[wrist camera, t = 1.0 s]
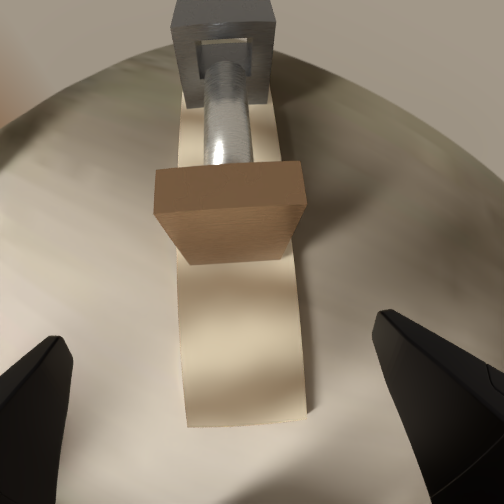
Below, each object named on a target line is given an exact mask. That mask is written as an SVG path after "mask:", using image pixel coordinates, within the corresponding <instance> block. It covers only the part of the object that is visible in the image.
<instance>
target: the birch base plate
mask: <svg viewBox="0 0 504 504" xmlns="http://www.w3.org/2000/svg"><path fill="white" fill-rule="evenodd" d="M249 116H250V126H251V137H252V147H253V158H254V162H271V161H281V154H280V147H279V141H278V134H277V127H276V121H275V115H274V108H273V102H272V96H271V90H270V84H269V92H268V101H267V104H256V105H249ZM201 165H204V107H203V108H192V109H187V108H186V103H185V98H184V93H183V94H182V106H181V119H180V135H179V153H178V168H179V167H189V166H201ZM177 294H178V318H179V337H180V352H181V366H182V378H183V390H184V400H185V410H186V419H187V427H233V426H250V425H262V424H273V423H282V422H291V421H298V420H306V419H307V409H306V393H305V378H304V364H303V351H302V339H301V327H300V316H299V305H298V295H297V285H296V275H295V266H294V257H293V248H292V239H290V241H289V243H288V245H287V247H286V249H285V251H284V253H283V255H282V258H281V260H270V261H255V262H240V263H224V264H208V265H192V266H190V265H189V264H188V262H187V261H186V259H185V258H184V257H183V255H182V254H181V253H180V251H179V250H178V248H177Z"/></svg>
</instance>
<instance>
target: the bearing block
mask: <svg viewBox="0 0 504 504" xmlns="http://www.w3.org/2000/svg"><path fill="white" fill-rule="evenodd" d="M275 27H276V20H275V16H274V13H273V9H272V6H271V3H270V0H177V3H176V6H175V10H174V14H173V19H172V23H171V27H170V28H171V34H172V39H173V44H174V49H175V54H176V59H177V64H178V69H179V74H180V79H181V84H182V89H183V93H184V98H185V103H186V108H187V109H192V108H203V107H204V88H205V72H206V70H207V69H208V68H209V67H210V66H211V65H213V64H215V63H217V62H221V61H231V62H235V63H237V64H239V65H240V66H242V67H243V69H244V70H245V75H246V85H247V95H248V105H256V104H267V101H268V92H269V83H270V73H271V64H272V55H273V44H274V36H275ZM229 38H247V43H224V44H209V45H202V43H201V40H213V39H229Z"/></svg>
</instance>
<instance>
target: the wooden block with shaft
mask: <svg viewBox="0 0 504 504" xmlns="http://www.w3.org/2000/svg"><path fill="white" fill-rule="evenodd" d="M306 206H307V199H306V192H305V186H304V180H303V174H302V168H301V162H300V161H271V162H254V158H253V147H252V137H251V126H250V116H249V105H248V95H247V85H246V75H245V70H244V69H243V67H242V66H240V65H239V64H237V63H235V62H231V61H221V62H217V63H215V64H213V65H211V66H210V67H209V68H208V69H207V70H206V72H205V88H204V165H201V166H189V167H179V168H169V169H160V170H156V177H155V193H154V215H155V217H156V218H157V220H158V221H159V223H160V224H161V226H162V227H163V228H164V230H165V231H166V233H167V234H168V236H169V237H170V238H171V240H172V241H173V243H174V244H175V246H176V247H177V248H178V250H179V251H180V253H181V254H182V255H183V257H184V258H185V259H186V261H187V262H188V264H189V265H190V266H192V265H208V264H224V263H240V262H255V261H270V260H281V258H282V255H283V253H284V251H285V249H286V247H287V245H288V243H289V241H290V239H291V237H292V235H293V233H294V231H295V229H296V227H297V225H298V223H299V221H300V219H301V216H302V214H303V212H304V210H305V208H306Z"/></svg>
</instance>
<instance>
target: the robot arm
mask: <svg viewBox="0 0 504 504" xmlns="http://www.w3.org/2000/svg"><path fill="white" fill-rule="evenodd" d="M372 340H373V343H374V347H375V350H376V353H377V356H378V359H379V362H380V365H381V369H382V372H383V375H384V378H385V381H386V384H387V387H388V389H389V392H390V394H391V396H392V399H393V401H394V403H395V406H396V408H397V411H398V413H399V416H400V418H401V420H402V423H403V425H404V428H405V430H406V433H407V436H408V438H409V441H410V443H411V446H412V449H413V451H414V454H415V457H416V459H417V462H418V465H419V467H420V470H421V473H422V476H423V479H424V481H425V484H426V487H427V490H428V493H429V496H430V500H431V503H432V504H504V373H503V372H501V371H499V370H497V369H496V368H494V367H492V366H491V365H489V364H486V363H485V362H484V361H482V360H480V359H478V358H477V357H475V356H473V355H472V354H470V353H468V352H466V351H465V350H463V349H461V348H459V347H458V346H456V345H454V344H453V343H451V342H449V341H447V340H446V339H444V338H442V337H440V336H439V335H437V334H435V333H433V332H432V331H430V330H428V329H426V328H425V327H423V326H421V325H419V324H417V323H416V322H414V321H412V320H410V319H409V318H407V317H405V316H403V315H401V314H400V313H398V312H396V311H394V310H392V309H388V310H382V311H379V312H378V313H377V316H376V320H375V324H374V327H373V331H372ZM72 369H73V357H72V354H71V353H70V351H69V349H68V347H67V345H66V343H65V341H64V339H63V338H62V337H61V336H48V337H47V338H46V339H44V340H43V341H42V342H41V343H39V344H38V345H37V346H36V347H34V348H33V349H32V350H31V351H30V352H28V353H27V354H26V355H25V356H23V357H22V358H21V359H20V360H19V361H17V362H16V363H15V364H14V365H13V366H11V367H10V368H9V369H8V370H7V371H6V372H4V373H3V374H2V375H1V376H0V504H55V502H56V489H57V478H58V468H59V460H60V453H61V446H62V439H63V433H64V427H65V421H66V416H67V410H68V403H69V394H70V385H71V377H72Z"/></svg>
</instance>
